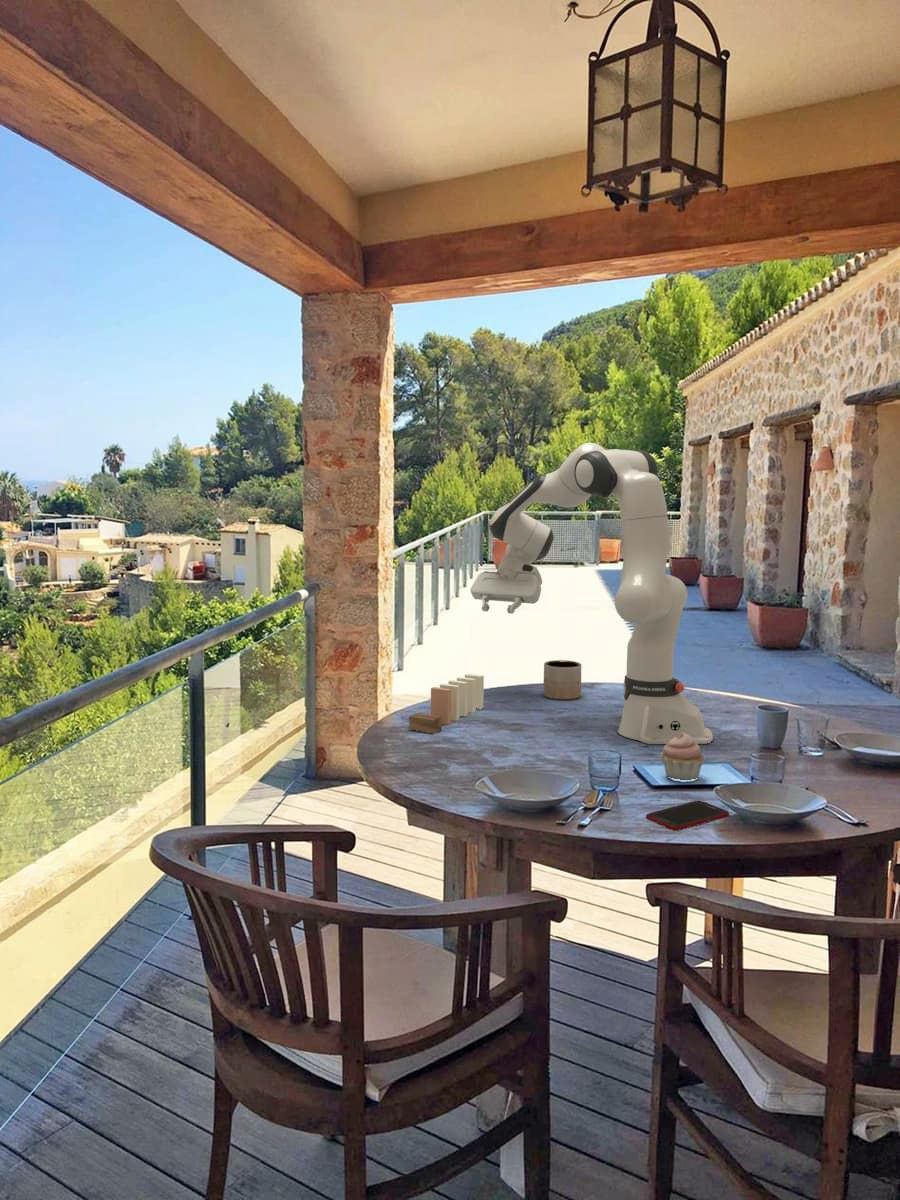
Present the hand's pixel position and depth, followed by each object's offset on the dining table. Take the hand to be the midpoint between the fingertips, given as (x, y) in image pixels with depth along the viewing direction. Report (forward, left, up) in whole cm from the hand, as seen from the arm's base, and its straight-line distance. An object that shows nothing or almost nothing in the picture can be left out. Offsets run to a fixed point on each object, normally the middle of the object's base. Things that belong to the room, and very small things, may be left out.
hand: (497, 611), depth 250 cm
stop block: (+14, +33, -26) cm, 44 cm away
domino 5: (+5, +9, -26) cm, 28 cm away
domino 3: (+8, +18, -26) cm, 32 cm away
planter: (-18, -9, -26) cm, 33 cm away
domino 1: (+11, +26, -26) cm, 38 cm away
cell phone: (-44, +82, -26) cm, 97 cm away
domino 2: (+10, +22, -26) cm, 35 cm away
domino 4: (+7, +13, -26) cm, 29 cm away
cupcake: (-45, +60, -26) cm, 80 cm away
